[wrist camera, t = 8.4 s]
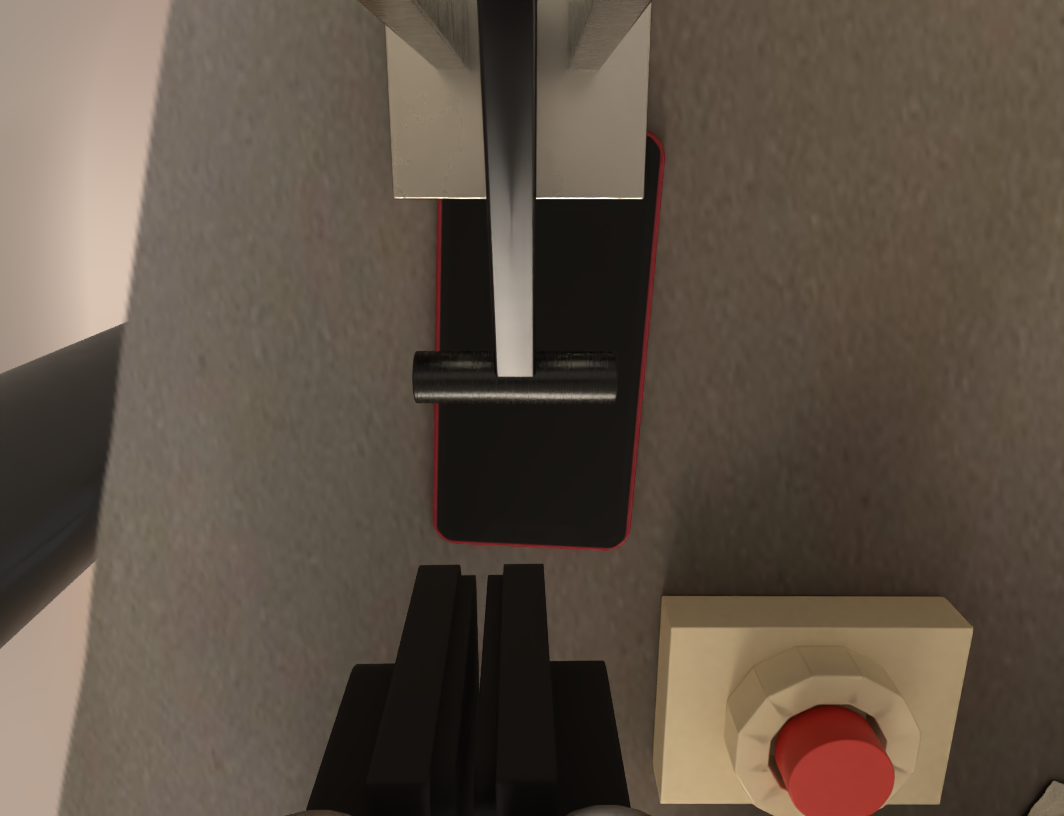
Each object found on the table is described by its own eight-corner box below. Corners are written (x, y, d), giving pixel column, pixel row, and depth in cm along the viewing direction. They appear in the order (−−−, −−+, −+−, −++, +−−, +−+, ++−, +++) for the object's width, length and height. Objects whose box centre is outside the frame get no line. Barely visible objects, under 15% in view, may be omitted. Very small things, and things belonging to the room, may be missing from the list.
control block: (652, 763, 34) (667, 841, 30) (661, 595, 31) (679, 656, 27) (914, 764, 34) (963, 842, 30) (944, 596, 31) (1002, 657, 27)
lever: (610, 366, 23) (616, 427, 22) (422, 366, 23) (414, 427, 22) (671, -257, 13) (691, -231, 11) (337, -257, 13) (309, -232, 12)
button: (769, 787, 29) (783, 825, 28) (778, 704, 28) (794, 739, 27) (867, 787, 29) (888, 825, 28) (880, 705, 28) (902, 739, 27)
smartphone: (668, 130, 26) (628, 553, 30) (663, 131, 26) (625, 542, 31) (437, 118, 25) (431, 543, 30) (441, 119, 26) (434, 533, 31)
